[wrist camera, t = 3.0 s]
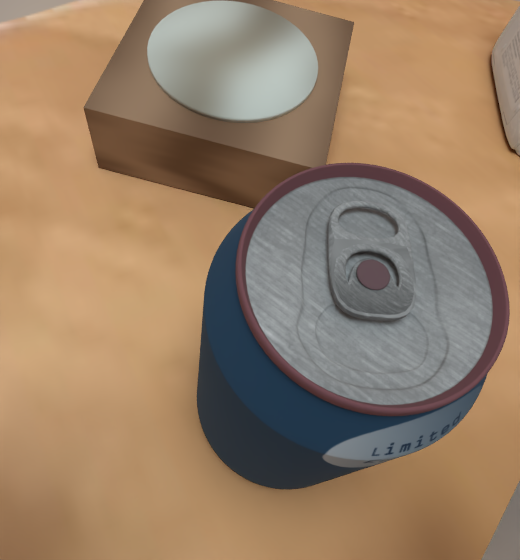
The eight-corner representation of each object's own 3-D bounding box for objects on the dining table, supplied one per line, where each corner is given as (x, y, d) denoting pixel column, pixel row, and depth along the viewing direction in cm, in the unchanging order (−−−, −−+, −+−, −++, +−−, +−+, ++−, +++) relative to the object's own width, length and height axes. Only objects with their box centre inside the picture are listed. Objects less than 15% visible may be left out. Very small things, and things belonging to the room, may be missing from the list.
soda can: (362, 495, 19) (579, 460, 8) (187, 486, 18) (187, 436, 8) (353, 333, 22) (503, 160, 12) (204, 320, 22) (220, 123, 11)
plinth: (334, 81, 30) (355, 17, 26) (304, 221, 25) (325, 166, 21) (164, 35, 30) (160, -36, 26) (98, 167, 25) (82, 102, 21)
